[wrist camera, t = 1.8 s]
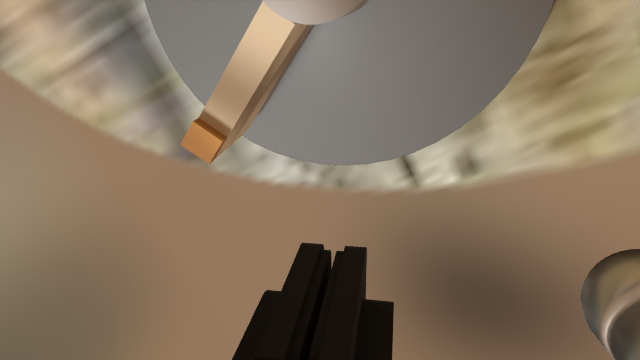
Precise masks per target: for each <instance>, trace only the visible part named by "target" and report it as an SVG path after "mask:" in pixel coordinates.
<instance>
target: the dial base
mask: <svg viewBox="0 0 640 360" xmlns="http://www.w3.org/2000/svg"><path fill="white" fill-rule="evenodd" d="M262 1H263V0H145V3H146V7H147V10H148V13H149V16H150V18H151V21H152V24H153V26H154V29H155V32H156V34H157V36H158V38H159V40H160V42H161V44H162V46H163V48H164V50H165V52H166V54H167V56H168V58H169V60H170V61H171V63H172V64H173V66H174V68H175V69H176V71H177V72H178V74H179V75H180V77H181V78H182V80H183V81H184V82H185V84H186V85H187V86H188V87H189V88H190V90H191V91H192V92H193V93H194V95H195V96H196V97H197V98H198V99H199V100H200V101H201V102H202V103H203V104H204V105H205V106H206V104H207V102H208V100H209V98H210V96H211V95H212V93H213V91H214V89H215V87H216V86H217V84H218V82H219V80H220V78H221V76H222V75H223V73H224V71H225V69H226V67H227V65H228V64H229V62H230V60H231V58H232V56H233V54H234V53H235V51H236V49H237V47H238V45H239V43H240V42H241V40H242V38H243V36H244V34H245V33H246V31H247V29H248V27H249V25H250V23H251V22H252V20H253V18H254V16H255V14H256V12H257V11H258V9H259V7H260V5H261V3H262ZM553 2H554V0H368V2H367V3H366V4H365V5H363V6H362V7H361V8H360V9H358V10H357V11H355V12H353V13H351V14H348V15H346V16H343V17H340V18H338V19H335V20H332V21H329V22H326V23H322V24H315V25H312V27H311V29H310V30H309V32H308V33H307V35H306V37H305V38H304V40H303V42H302V43H301V45H300V46H299V48H298V50H297V51H296V53H295V55H294V56H293V58H292V59H291V61H290V63H289V64H288V66H287V68H286V69H285V71H284V72H283V74H282V76H281V77H280V79H279V80H278V82H277V84H276V85H275V87H274V89H273V90H272V92H271V93H270V95H269V97H268V98H267V100H266V102H265V103H264V105H263V106H262V108H261V110H260V111H259V113H258V115H257V116H256V118H255V119H254V121H253V123H252V124H251V126H250V127H249V129H248V131H246V132H245V133H244V134H243V135H242V136H244V137H245V138H247V139H248V140H250V141H252V142H253V143H255V144H257V145H260V146H262V147H264V148H266V149H268V150H271V151H273V152H275V153H278V154H281V155H284V156H287V157H290V158H294V159H297V160H302V161H307V162H312V163H317V164H328V165H360V164H370V163H376V162H381V161H386V160H391V159H394V158H398V157H401V156H404V155H407V154H410V153H414V152H416V151H418V150H420V149H423V148H425V147H427V146H429V145H431V144H434V143H436V142H438V141H439V140H441V139H443V138H444V137H446V136H448V135H449V134H451V133H453V132H454V131H456V130H457V129H459V128H461V127H462V126H463V125H464V124H466V123H467V122H468V121H469V120H471V119H472V118H473V117H475V116H476V115H477V114H478V113H480V112H481V111H482V110H483V109H484V108H485V107H486V106H487V105H488V104H489V103H490V102H491V101H492V100H493V99H494V98H495V97H496V96H497V95H498V94H499V93H500V92H501V91H502V90H503V89H504V87H505V86H506V85H507V84H508V82H509V81H510V80H511V78H512V77H513V76H514V75H515V73H516V72H517V71H518V70H519V68H520V67H521V65H522V64H523V62H524V61H525V59H526V57H527V56H528V54H529V52H530V51H531V49H532V48H533V46H534V44H535V43H536V41H537V39H538V37H539V35H540V33H541V30H542V28H543V26H544V24H545V22H546V20H547V17H548V15H549V13H550V11H551V8H552V5H553Z"/></svg>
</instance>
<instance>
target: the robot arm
mask: <svg viewBox="0 0 640 360" xmlns="http://www.w3.org/2000/svg"><path fill="white" fill-rule="evenodd" d="M366 260H367V248H366V247H353V246H345V249H344V251H337V252H336V255H335V259H334V262H333V266H332V270H331V251H330V250H324V246H323V244H313V243H302V244H301V245H300V248H299V250H298V252H297V255H296V257H295V260H294V262H293V264H292V267H291V269H290V271H289V274H288V276H287V279H286V281H285V283H284V286H283V288H282V290H281V291H272V290H267V291H265V293H264V294H263V296H262V298H261V300H260V302H259V304H258V306H257V308H256V310H255V313H254V315H253V317H252V319H251V321H250V323H249V325H248V327H247V329H246V331H245V333H244V336H243V338H242V340H241V342H240V344H239V346H238V348H237V350H236V352H235V354H234V356H233V359H232V360H392V342H393V310H394V303H393V302H388V301H378V300H367V299H366Z"/></svg>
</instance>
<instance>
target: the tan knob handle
mask: <svg viewBox="0 0 640 360" xmlns="http://www.w3.org/2000/svg"><path fill="white" fill-rule="evenodd" d="M367 2H368V0H263V1H262V3H261V5H260V7H259V9H258V11H257V12H256V14H255V16H254V18H253V20H252V22H251V23H250V25H249V27H248V29H247V31H246V33H245V34H244V36H243V38H242V40H241V42H240V43H239V45H238V47H237V49H236V51H235V53H234V54H233V56H232V58H231V60H230V62H229V64H228V65H227V67H226V69H225V71H224V73H223V75H222V76H221V78H220V80H219V82H218V84H217V86H216V87H215V89H214V91H213V93H212V95H211V96H210V98H209V100H208V102H207V104H206V106H205V107H204V109H203V111H202V113H201V115H200V117H199V118H198V119H196V120H195V121H193V122H192V124H191V126H190V128H189V130H188V132H187V134H186V135H185V137H184V139H183V141H182V143H181V145H182V146H183V147H185V148H186V149H187V150H189V151H190V152H192V153H193V154H195V155H196V156H198V157H199V158H201V159H202V160H204V161H205V162H207V163H208V164H210V163H211V162H212V161H213V160H214V159H216V158H217V157H218V156H219V155H220V154H221V153H222V152H224V151H225V150H226V149H227V148H228V147H229V146H230V145H232V144H233V143H234V142H235V141H236V140H237V139H238V138H240V137H241V136H242V135H243V134H244V133H245V132H246V131H248V129H249V127H250V126H251V124H252V123H253V121H254V119H255V118H256V116H257V115H258V113H259V111H260V110H261V108H262V106H263V105H264V103H265V102H266V100H267V98H268V97H269V95H270V93H271V92H272V90H273V89H274V87H275V85H276V84H277V82H278V80H279V79H280V77H281V76H282V74H283V72H284V71H285V69H286V68H287V66H288V64H289V63H290V61H291V59H292V58H293V56H294V55H295V53H296V51H297V50H298V48H299V46H300V45H301V43H302V42H303V40H304V38H305V37H306V35H307V33H308V32H309V30H310V29H311V27H312V25H315V24H322V23H326V22H329V21H332V20H335V19H338V18H340V17H343V16H346V15H348V14H351V13H353V12H355V11H357V10H358V9H360V8H361V7H362V6H363V5H365V4H366V3H367Z"/></svg>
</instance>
